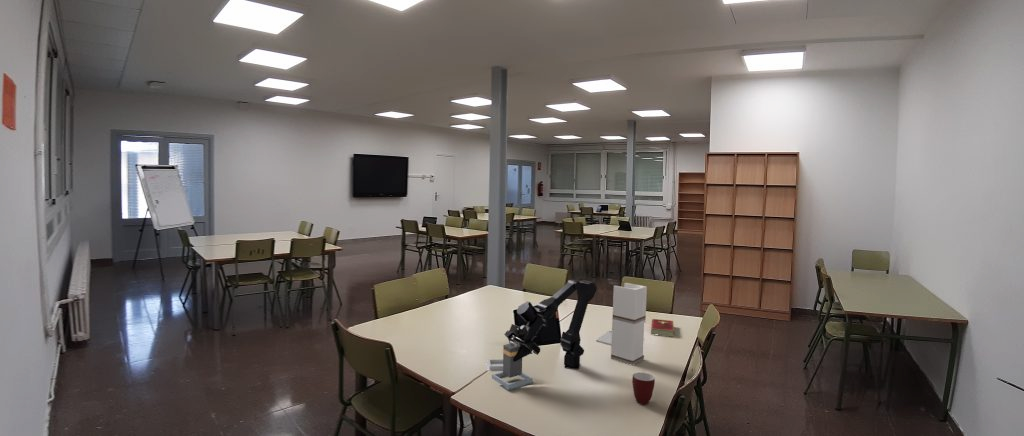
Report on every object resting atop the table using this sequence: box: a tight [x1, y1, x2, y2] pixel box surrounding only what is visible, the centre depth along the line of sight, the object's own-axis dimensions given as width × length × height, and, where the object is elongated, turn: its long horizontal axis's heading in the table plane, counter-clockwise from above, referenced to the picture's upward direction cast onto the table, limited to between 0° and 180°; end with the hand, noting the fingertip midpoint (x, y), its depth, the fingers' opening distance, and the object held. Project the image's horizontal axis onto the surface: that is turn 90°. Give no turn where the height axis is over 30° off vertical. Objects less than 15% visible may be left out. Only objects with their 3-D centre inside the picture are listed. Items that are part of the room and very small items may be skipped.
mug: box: [631, 372, 656, 405], centre depth 180 cm, size 10×8×10 cm
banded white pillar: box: [610, 282, 648, 366], centre depth 223 cm, size 11×11×35 cm
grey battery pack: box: [502, 341, 523, 379], centre depth 194 cm, size 6×5×13 cm
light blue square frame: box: [491, 371, 533, 392], centre depth 194 cm, size 12×12×2 cm
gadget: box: [596, 330, 612, 346], centre depth 252 cm, size 23×15×4 cm, turn 137°
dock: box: [484, 358, 503, 372], centre depth 209 cm, size 12×10×2 cm
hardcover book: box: [650, 318, 675, 338], centre depth 271 cm, size 12×21×4 cm, turn 163°
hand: (510, 359), depth 193 cm, fingers closed on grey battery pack, 5 cm apart
